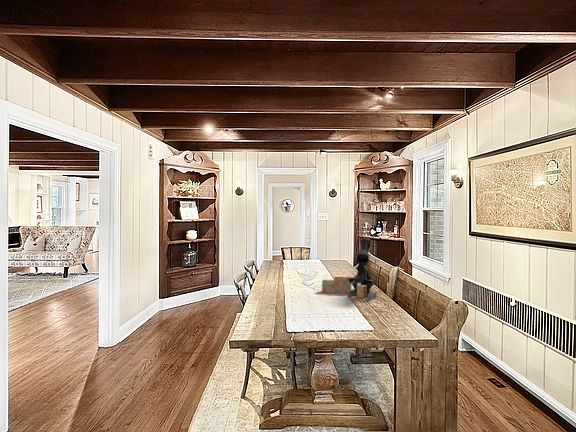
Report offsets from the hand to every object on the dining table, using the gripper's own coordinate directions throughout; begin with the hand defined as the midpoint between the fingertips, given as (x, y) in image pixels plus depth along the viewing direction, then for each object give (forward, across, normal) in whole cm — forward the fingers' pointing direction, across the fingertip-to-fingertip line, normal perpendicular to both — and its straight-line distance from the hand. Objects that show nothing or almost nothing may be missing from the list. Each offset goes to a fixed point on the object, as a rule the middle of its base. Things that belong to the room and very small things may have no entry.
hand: (361, 293), depth 321 cm
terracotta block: (+3, 0, 0) cm, 3 cm away
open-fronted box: (+3, 0, 0) cm, 3 cm away
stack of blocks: (+3, -23, +3) cm, 24 cm away
